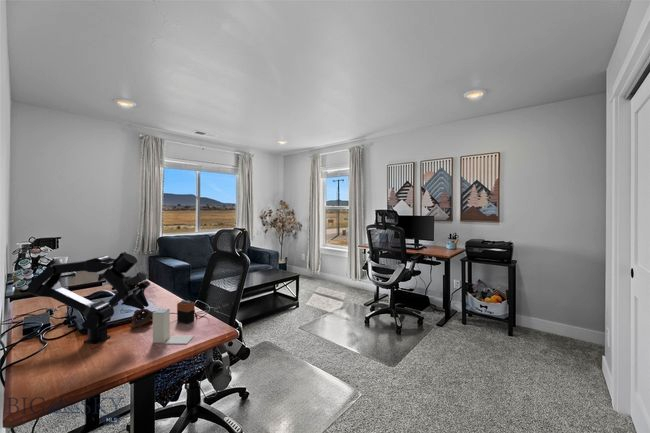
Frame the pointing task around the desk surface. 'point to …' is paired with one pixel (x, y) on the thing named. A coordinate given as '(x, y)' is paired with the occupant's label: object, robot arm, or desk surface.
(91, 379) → the desk surface
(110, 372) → the desk surface
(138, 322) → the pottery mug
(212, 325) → the desk surface
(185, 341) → the felt mat
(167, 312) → the cream block
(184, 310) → the battery
